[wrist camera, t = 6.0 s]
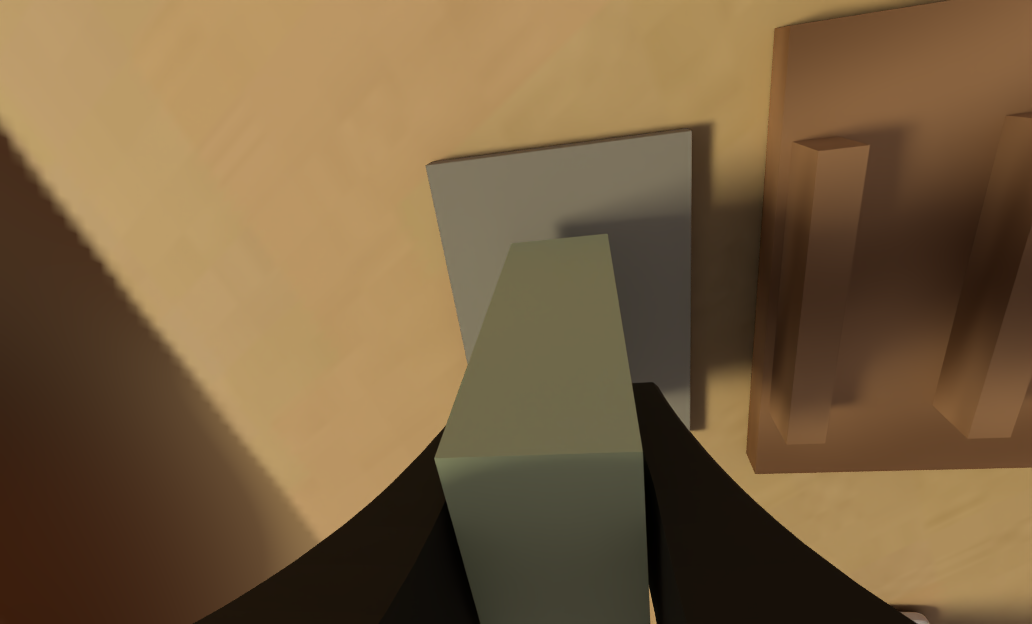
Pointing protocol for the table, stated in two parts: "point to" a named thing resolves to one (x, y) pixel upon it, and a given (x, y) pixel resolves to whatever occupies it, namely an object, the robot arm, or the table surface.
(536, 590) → the sage green box
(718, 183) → the table surface
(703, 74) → the table surface
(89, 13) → the table surface
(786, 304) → the rack
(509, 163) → the mat
